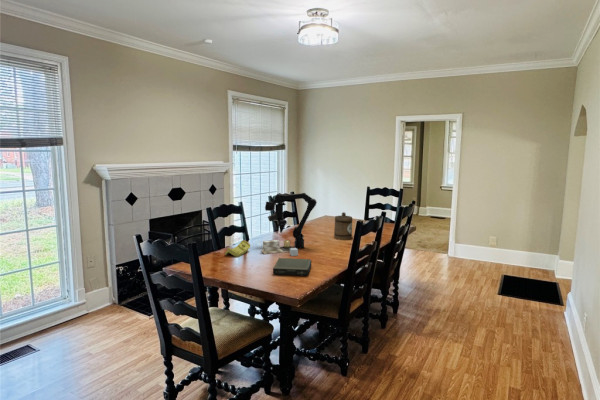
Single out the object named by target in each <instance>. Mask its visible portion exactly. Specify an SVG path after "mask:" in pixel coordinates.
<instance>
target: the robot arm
mask: <svg viewBox="0 0 600 400" xmlns="http://www.w3.org/2000/svg"><path fill="white" fill-rule="evenodd" d="M299 199H300V200H301V199H302V200H304V201H305V202H306V203H307V206H306V210H305V212H304V214H303V216H302V218H301V220H300V221H299V224H298V225H296V226H294V230H292V237H293V238H294V241H293V242H294V246H293V248H297V249H298V250H299V249H306V247H305V239H304V237H305V235H304V234H303V233H302V232H303V229H304V226H305V223H306V222H307V220H308V218H309V216H310V214H311V212H312V211H313V210H314V209H315V207H316V206H317V200H316V199H315V198H313V197H311V196H310V195H308V194H307V193H306V192H302V193H300V192H299V193H290V194H286V193H285V194H284V193H283V194H282V193H278V194H276V195H275V197H274V200H273V201H265V205H264V206H265V207H264V209H265V211H266V212H267V211H269V212H273V214H271V215H268V216H267V218H268V221H269V222H273V223H274V226H275V229H276V231H279V233H283V231H284V229H285V227H286V225H287V224H288V221H287V220H286V219H285V218H284V214H285V213H284V212H285V211H284V206H286V203H285V201H286V202H287V201H289V200H299ZM274 210H275V211H274Z"/></svg>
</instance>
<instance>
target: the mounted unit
mask: <svg viewBox="0 0 600 400" xmlns="http://www.w3.org/2000/svg"><path fill="white" fill-rule="evenodd" d="M290 248H294V246H291V245H290ZM261 252H262V254H264V255H271V254H272V255H273V254H284V253H285V254H286V253H290V249H284V245H283V246H280V240H279V239H273V240H272V239H271V240H263V241H262V250H261Z"/></svg>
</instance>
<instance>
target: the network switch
mask: <svg viewBox="0 0 600 400" xmlns="http://www.w3.org/2000/svg"><path fill="white" fill-rule="evenodd" d="M311 267H312V259H309V258H288V257H287V258H286V257H285V258H284V257H278V259H277V260H276V262H275V264H274V266H273V267H272V273H273V275H274V276H301V277H307V276H309V274H310V270H311Z"/></svg>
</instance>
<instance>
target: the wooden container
mask: <svg viewBox="0 0 600 400" xmlns="http://www.w3.org/2000/svg"><path fill="white" fill-rule="evenodd" d="M333 233H334V235H333V238H334V239H335V238H336V239H335V240H338V239H340V240H339V241H349V239H350V240H352V238H353V217H352V216H350V215H346V212H345V211H343V212H341V215H336V216H334V231H333Z"/></svg>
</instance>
